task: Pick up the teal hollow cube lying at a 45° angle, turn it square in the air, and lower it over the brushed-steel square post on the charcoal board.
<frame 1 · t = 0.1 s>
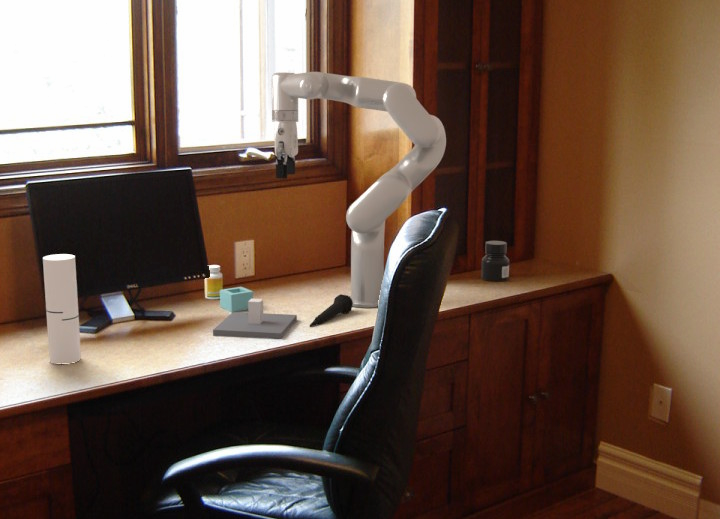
hand: (285, 176, 279), 37 cm above the table, tool pointing down, fingers open, 9 cm apart
teal hollow cube: (236, 307, 277), on the table
ink bottle: (494, 279, 314), on the table
microphone: (328, 319, 267), on the table
post board: (256, 327, 257), on the table
cylindrical container: (65, 361, 229), on the table
supplement bottle: (214, 298, 288), on the table
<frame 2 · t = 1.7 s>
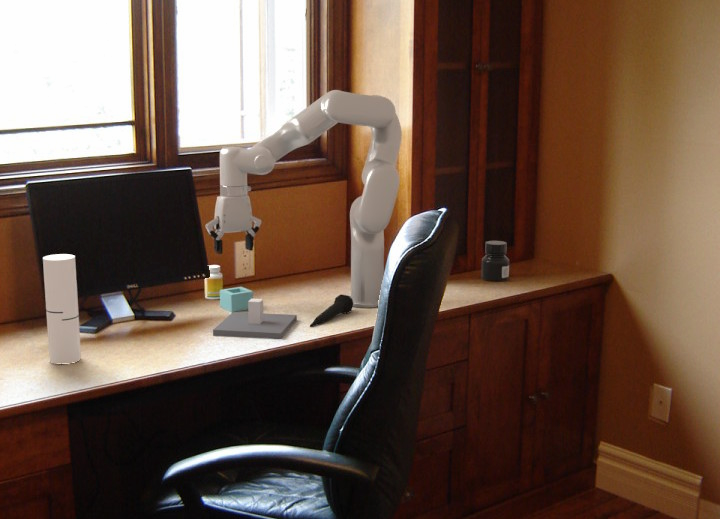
hand: (234, 251, 273), 16 cm above the table, tool pointing down, fingers open, 9 cm apart
nothing on the table moved.
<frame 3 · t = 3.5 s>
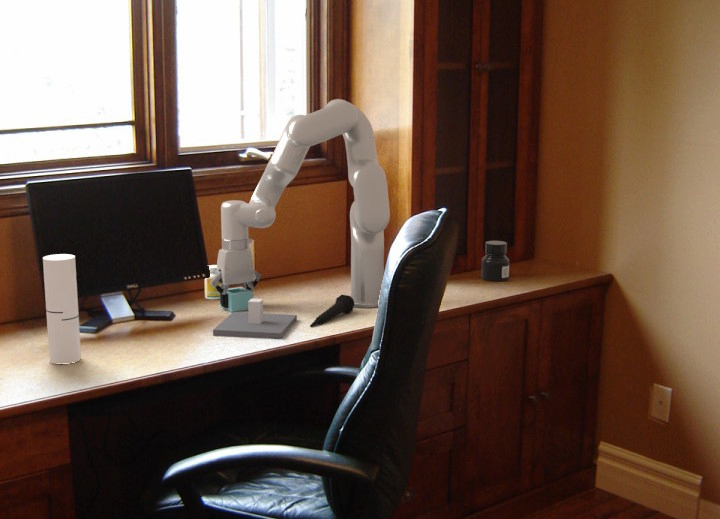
hand: (236, 304, 277), 1 cm above the table, tool pointing down, fingers closed on teal hollow cube, 7 cm apart
teal hollow cube: (236, 307, 277), on the table, touching gripper
everything else where it was.
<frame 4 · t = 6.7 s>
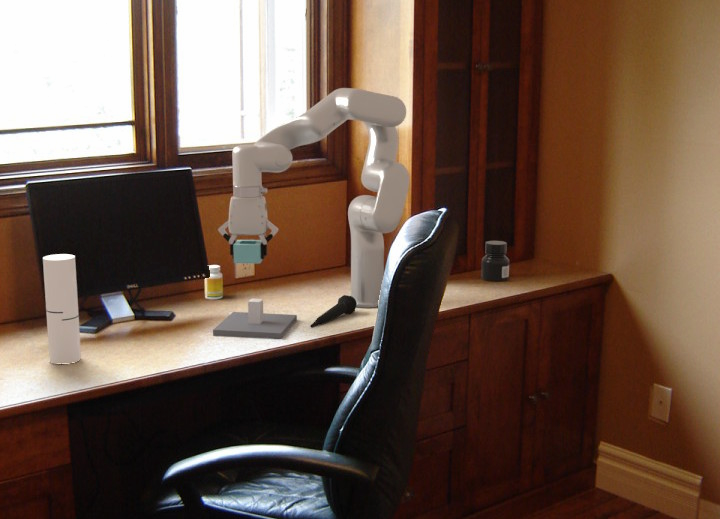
hand: (248, 257, 259), 18 cm above the table, tool pointing down, fingers closed on teal hollow cube, 7 cm apart
teal hollow cube: (248, 260, 259), point 17 cm above the table, touching gripper
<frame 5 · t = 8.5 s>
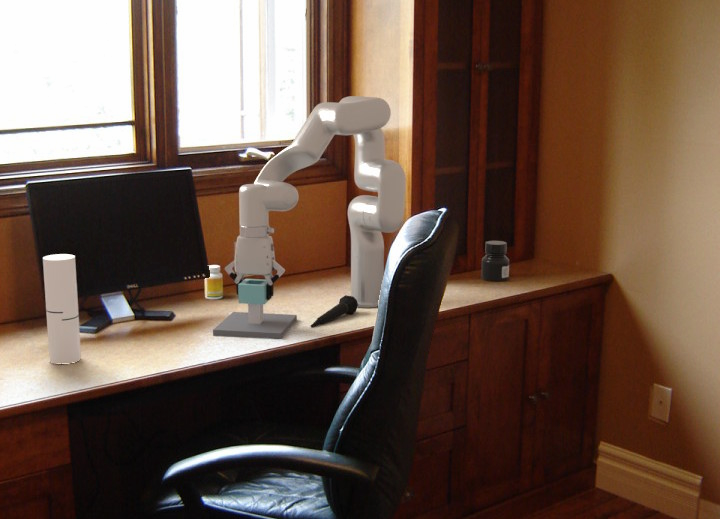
hand: (255, 297, 255), 8 cm above the table, tool pointing down, fingers closed on teal hollow cube, 7 cm apart
teal hollow cube: (255, 300, 255), point 7 cm above the table, touching gripper
when the fingers open (4 cm above the table, at t = 9.9 s): teal hollow cube drops 1 cm, resting on post board.
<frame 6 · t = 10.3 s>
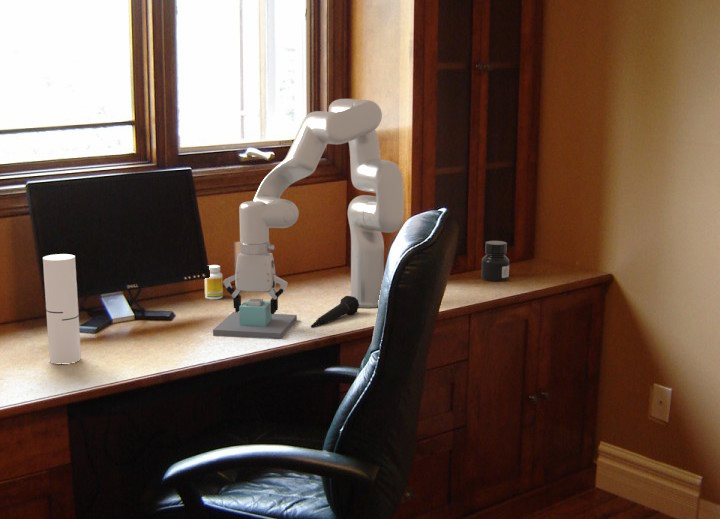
hand: (255, 311, 256), 4 cm above the table, tool pointing down, fingers open, 9 cm apart
teal hollow cube: (256, 322, 256), point 1 cm above the table, touching post board
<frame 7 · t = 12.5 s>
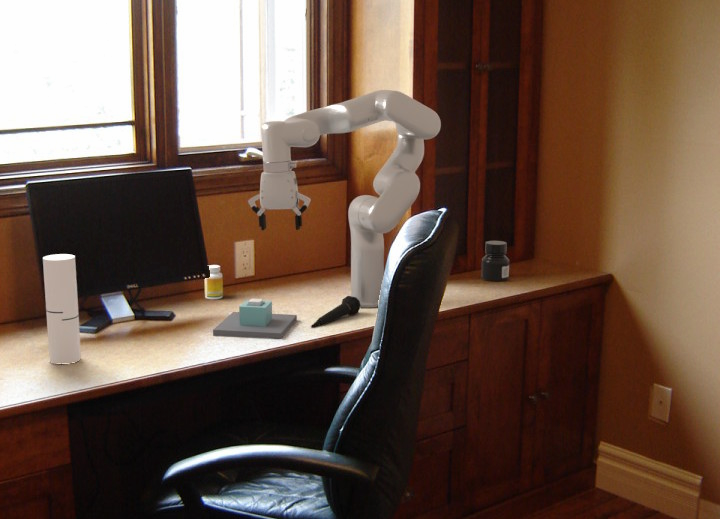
hand: (280, 229, 265), 24 cm above the table, tool pointing down, fingers open, 9 cm apart
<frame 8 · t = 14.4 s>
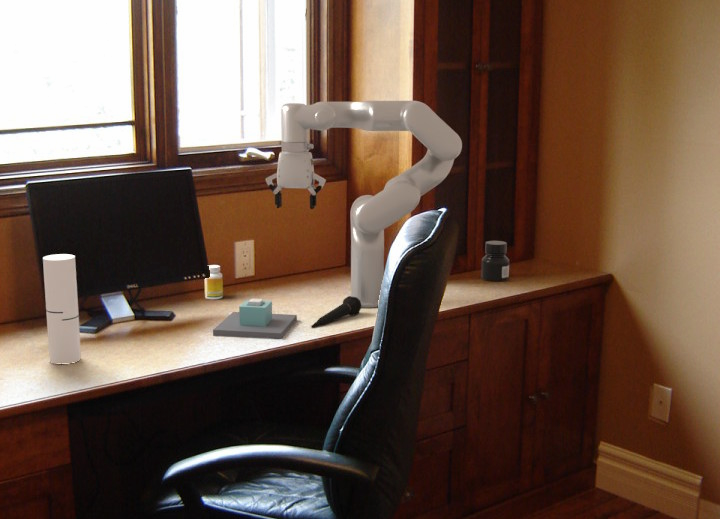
hand: (295, 207, 275), 28 cm above the table, tool pointing down, fingers open, 9 cm apart
at the end: teal hollow cube 0.0 cm off-centre on the post board, point 1.5 cm above the post board's base; teal hollow cube tilted 0°; the gripper is holding nothing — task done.
